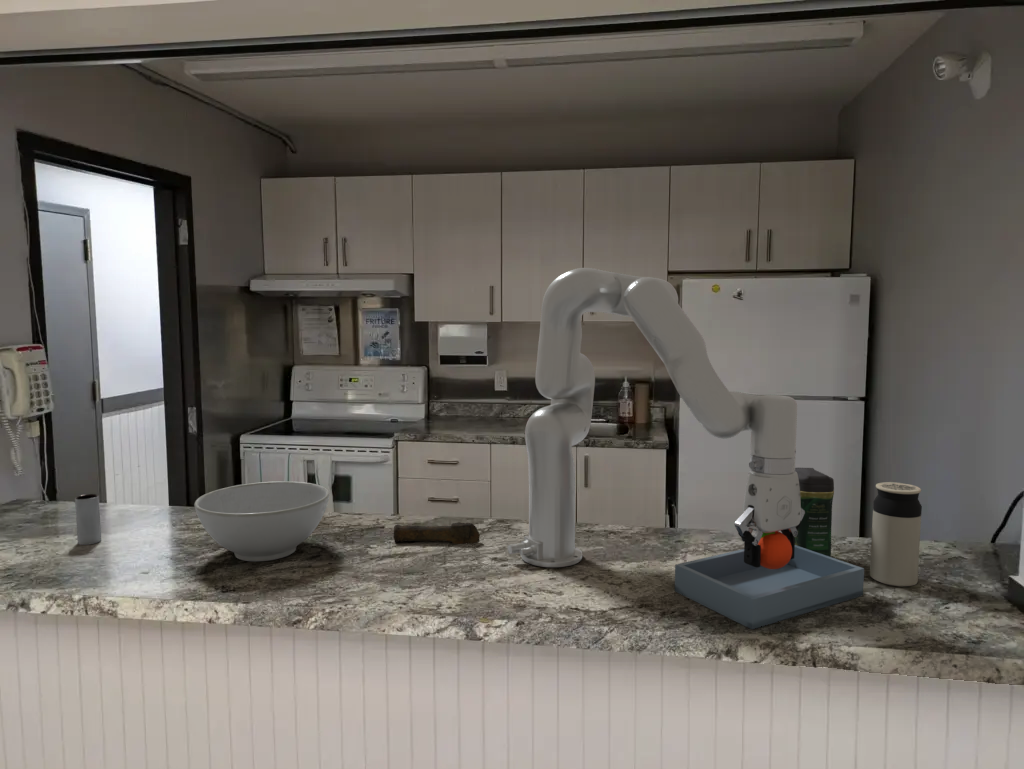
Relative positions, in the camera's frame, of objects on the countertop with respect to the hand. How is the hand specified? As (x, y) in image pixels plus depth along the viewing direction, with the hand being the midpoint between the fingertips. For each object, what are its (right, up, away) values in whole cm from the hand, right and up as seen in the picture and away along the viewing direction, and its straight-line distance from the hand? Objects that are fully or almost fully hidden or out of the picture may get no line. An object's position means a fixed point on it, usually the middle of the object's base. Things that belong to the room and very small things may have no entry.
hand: (769, 560), depth 127 cm
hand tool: (-63, -4, +31) cm, 70 cm away
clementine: (0, -2, 0) cm, 2 cm away
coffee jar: (+15, -5, +19) cm, 25 cm away
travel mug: (+26, -6, +7) cm, 28 cm away
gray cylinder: (-140, -4, +30) cm, 143 cm away
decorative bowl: (-99, -4, +23) cm, 101 cm away
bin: (0, -6, +1) cm, 6 cm away
